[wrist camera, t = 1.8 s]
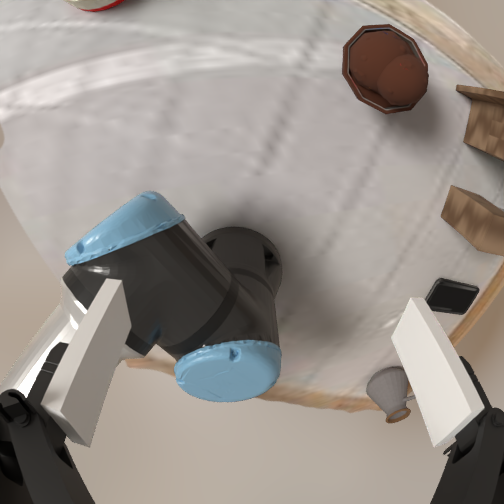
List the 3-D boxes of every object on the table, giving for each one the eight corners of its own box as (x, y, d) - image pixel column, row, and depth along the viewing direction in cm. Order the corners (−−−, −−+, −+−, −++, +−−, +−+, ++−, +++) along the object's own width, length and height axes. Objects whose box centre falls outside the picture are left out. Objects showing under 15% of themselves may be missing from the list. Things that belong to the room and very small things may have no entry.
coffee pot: (382, 391, 72) (396, 436, 59) (354, 384, 69) (367, 434, 56) (439, 342, 62) (463, 387, 49) (415, 330, 59) (440, 381, 46)
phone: (439, 279, 51) (480, 288, 53) (437, 276, 52) (478, 286, 54) (421, 309, 55) (463, 315, 57) (419, 306, 56) (461, 312, 58)
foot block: (469, 223, 46) (506, 256, 36) (440, 216, 45) (478, 250, 35) (479, 195, 43) (520, 224, 33) (451, 185, 42) (493, 214, 32)
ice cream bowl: (407, 71, 34) (470, 73, 21) (363, 122, 38) (415, 141, 25) (354, 21, 30) (403, -4, 17) (306, 72, 35) (338, 64, 22)
